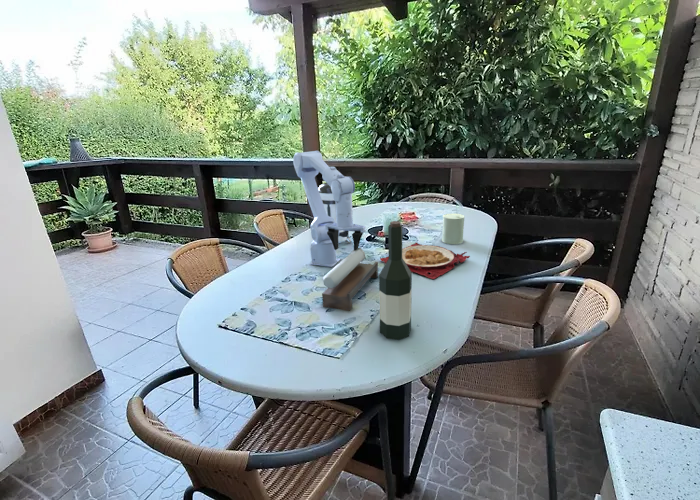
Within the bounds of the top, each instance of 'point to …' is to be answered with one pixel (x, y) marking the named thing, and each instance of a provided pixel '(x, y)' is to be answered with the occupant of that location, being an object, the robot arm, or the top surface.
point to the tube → (343, 268)
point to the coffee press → (331, 208)
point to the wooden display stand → (349, 287)
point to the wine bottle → (395, 289)
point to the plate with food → (429, 259)
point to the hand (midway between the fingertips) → (346, 249)
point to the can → (453, 228)
